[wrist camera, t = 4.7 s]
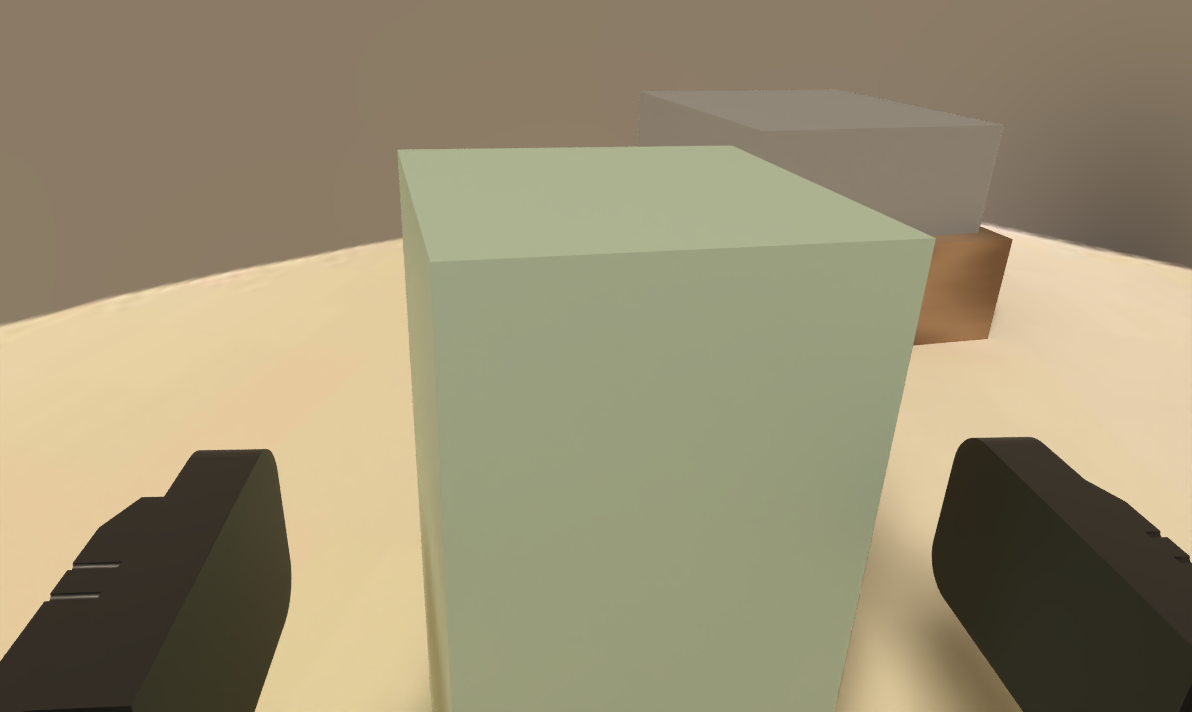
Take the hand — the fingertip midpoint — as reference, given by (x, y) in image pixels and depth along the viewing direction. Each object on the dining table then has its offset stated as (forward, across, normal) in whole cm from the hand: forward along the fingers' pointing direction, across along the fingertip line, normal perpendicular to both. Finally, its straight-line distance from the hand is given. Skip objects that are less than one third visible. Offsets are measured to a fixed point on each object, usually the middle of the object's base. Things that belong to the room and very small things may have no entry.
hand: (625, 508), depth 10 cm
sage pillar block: (+2, 0, +7) cm, 7 cm away
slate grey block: (+24, -10, +3) cm, 27 cm away
